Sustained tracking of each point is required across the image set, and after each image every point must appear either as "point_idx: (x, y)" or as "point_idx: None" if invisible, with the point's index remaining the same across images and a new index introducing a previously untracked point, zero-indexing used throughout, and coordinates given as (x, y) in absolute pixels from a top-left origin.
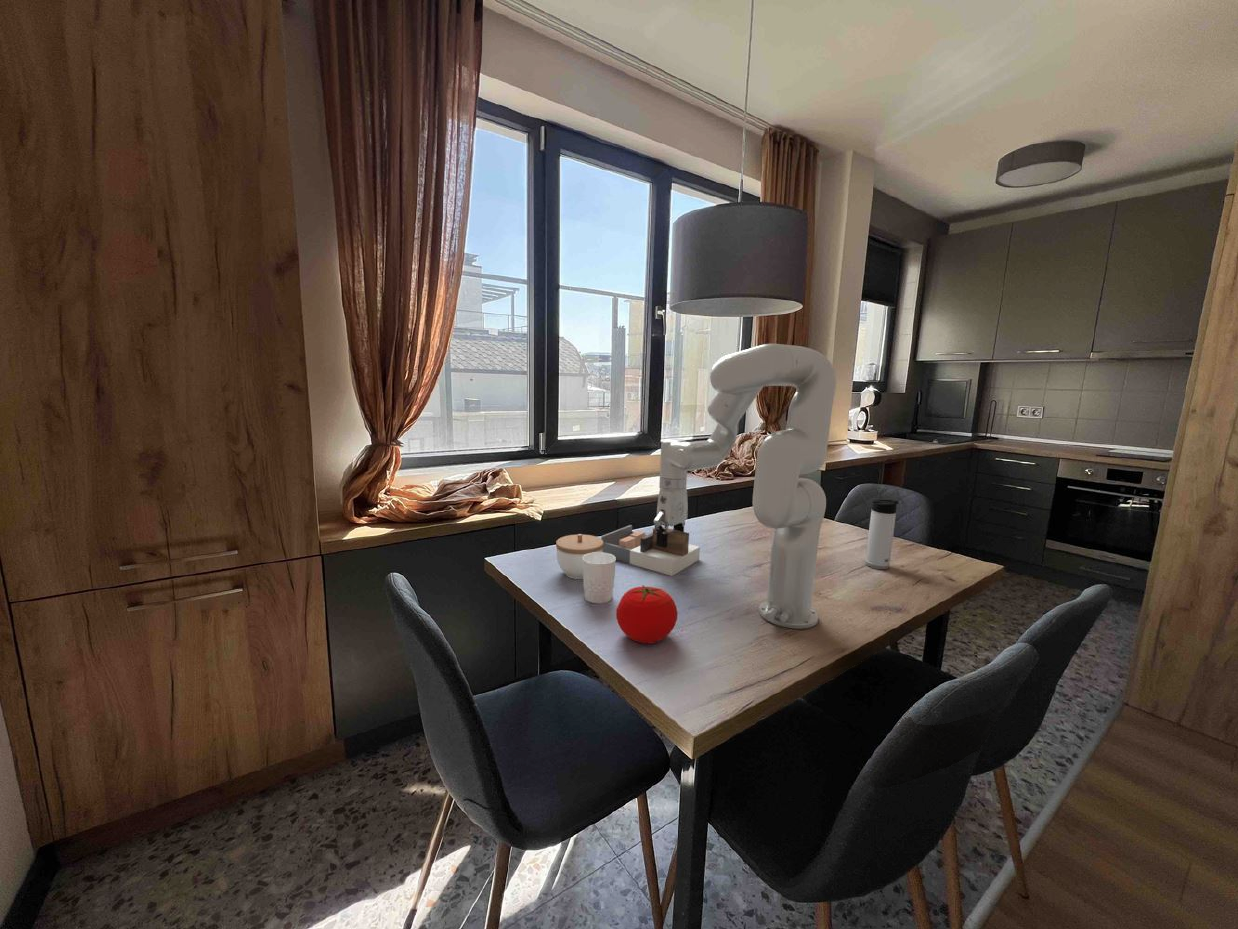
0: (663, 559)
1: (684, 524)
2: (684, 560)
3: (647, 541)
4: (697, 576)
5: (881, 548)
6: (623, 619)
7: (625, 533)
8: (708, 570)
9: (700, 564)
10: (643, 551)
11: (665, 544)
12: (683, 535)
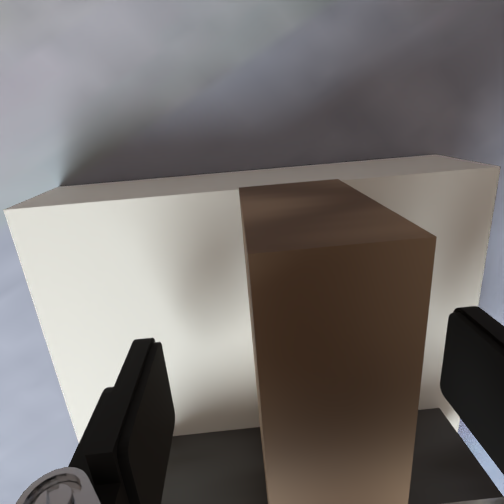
0: (487, 247)
1: (37, 490)
2: (288, 176)
3: (435, 473)
4: (336, 13)
5: None
6: None
7: None
8: (176, 13)
9: (124, 129)
10: (443, 414)
11: (492, 327)
12: (422, 247)
